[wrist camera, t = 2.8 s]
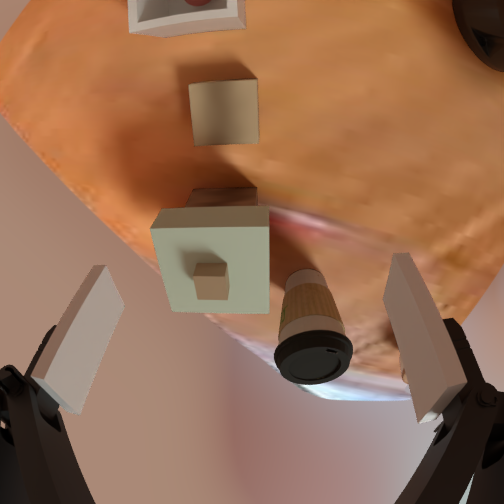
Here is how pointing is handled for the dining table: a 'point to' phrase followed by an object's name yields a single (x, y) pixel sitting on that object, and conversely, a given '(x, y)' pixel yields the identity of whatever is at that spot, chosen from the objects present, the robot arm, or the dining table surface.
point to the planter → (184, 17)
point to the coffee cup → (311, 332)
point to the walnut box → (223, 197)
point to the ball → (197, 2)
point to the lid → (214, 258)
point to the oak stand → (224, 112)
